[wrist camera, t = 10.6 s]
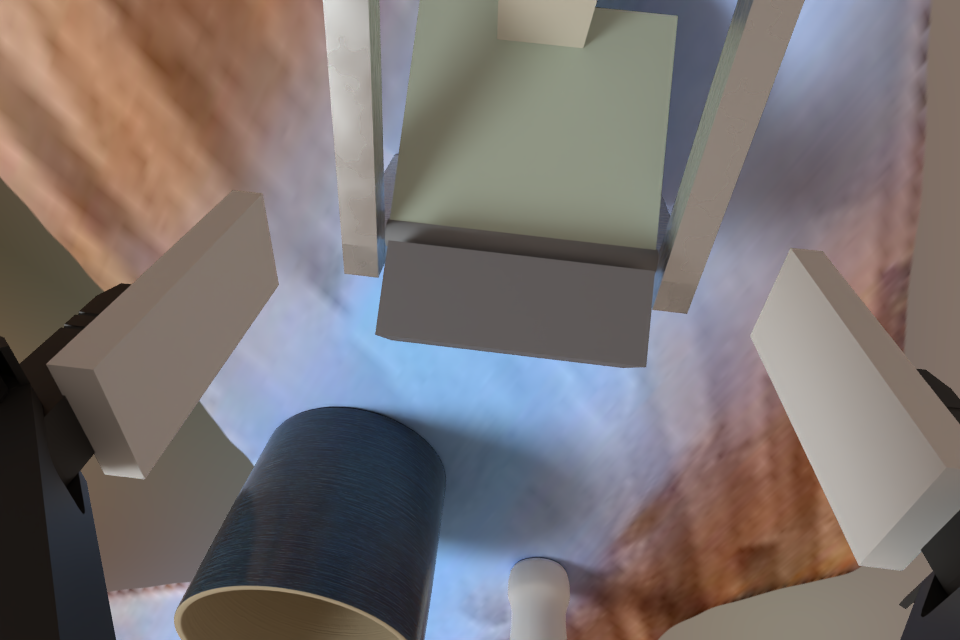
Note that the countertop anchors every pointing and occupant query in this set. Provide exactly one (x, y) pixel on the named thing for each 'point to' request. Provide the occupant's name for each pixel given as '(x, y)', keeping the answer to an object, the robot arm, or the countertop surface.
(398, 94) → the countertop surface
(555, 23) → the cream rectangular block
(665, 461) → the countertop surface
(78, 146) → the countertop surface
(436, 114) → the trapdoor
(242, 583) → the planter
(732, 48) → the frame
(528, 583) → the bottle
